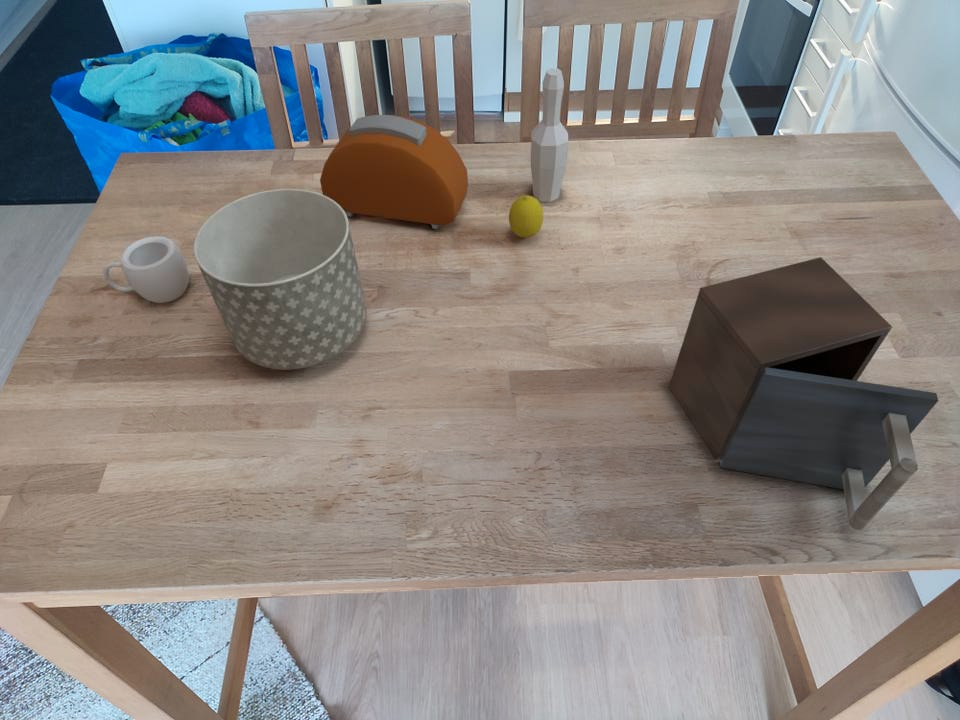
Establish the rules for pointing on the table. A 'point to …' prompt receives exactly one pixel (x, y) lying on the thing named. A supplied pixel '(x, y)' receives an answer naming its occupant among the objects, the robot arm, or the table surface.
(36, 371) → the table surface
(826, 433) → the door
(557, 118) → the low poly bottle
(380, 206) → the orange toaster
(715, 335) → the cupboard
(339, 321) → the planter
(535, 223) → the lemon
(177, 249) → the mug
